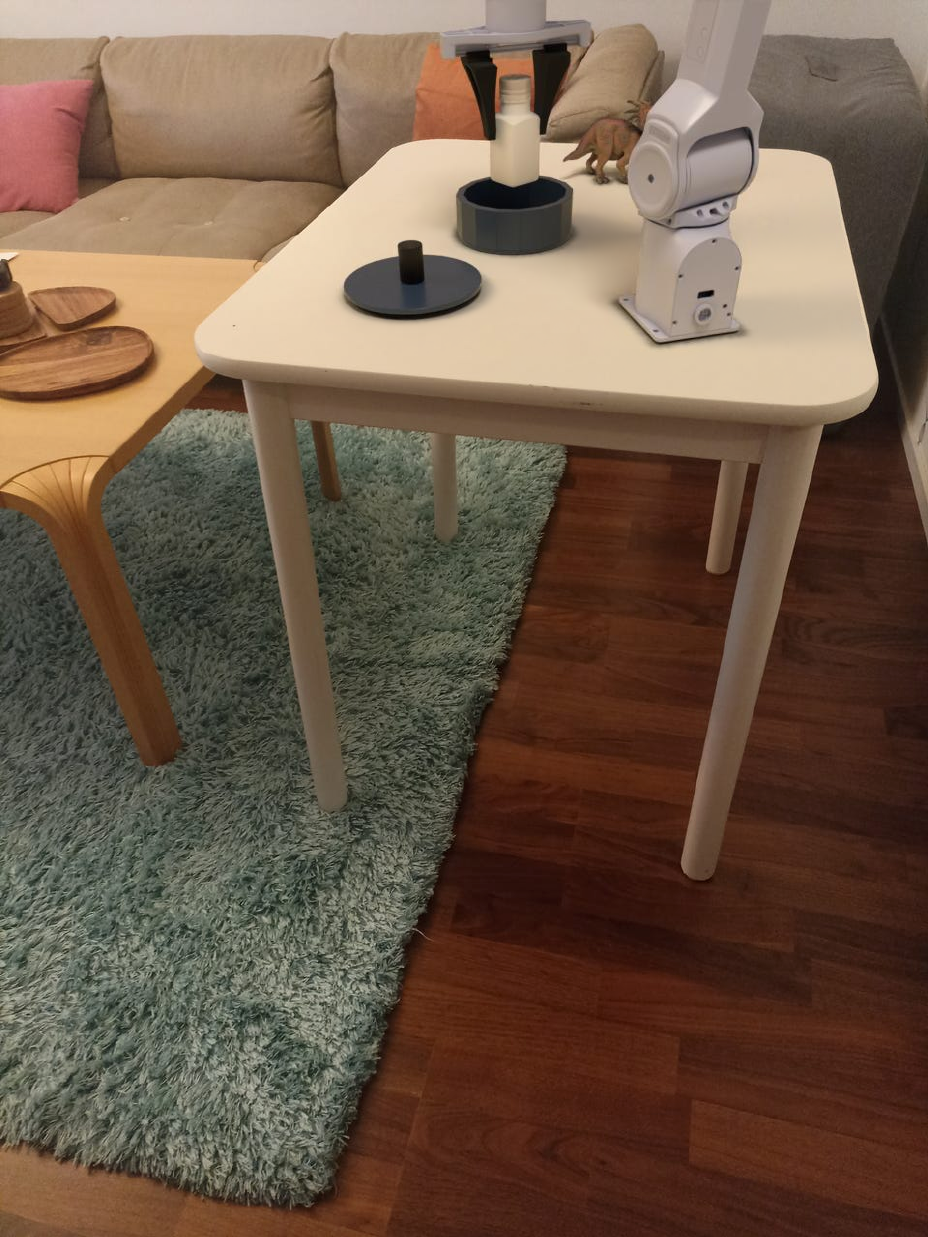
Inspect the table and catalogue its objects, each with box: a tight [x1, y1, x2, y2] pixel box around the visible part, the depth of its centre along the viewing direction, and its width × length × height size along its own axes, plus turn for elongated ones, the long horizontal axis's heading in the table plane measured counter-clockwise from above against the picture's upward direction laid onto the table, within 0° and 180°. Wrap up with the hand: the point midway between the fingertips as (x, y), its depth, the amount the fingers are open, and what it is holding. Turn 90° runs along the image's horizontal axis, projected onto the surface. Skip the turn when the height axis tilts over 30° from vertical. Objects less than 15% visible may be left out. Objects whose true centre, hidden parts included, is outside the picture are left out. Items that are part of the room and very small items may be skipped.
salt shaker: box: [489, 73, 541, 187], centre depth 87 cm, size 4×4×10 cm
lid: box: [343, 239, 483, 315], centre depth 84 cm, size 14×14×5 cm
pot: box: [455, 174, 574, 256], centre depth 95 cm, size 13×13×4 cm
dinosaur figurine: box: [562, 95, 663, 185], centre depth 106 cm, size 14×6×9 cm, turn 82°
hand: (515, 135), depth 88 cm, fingers closed on salt shaker, 5 cm apart
